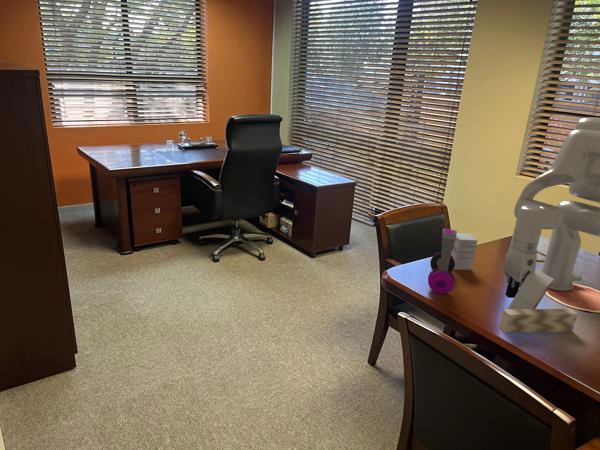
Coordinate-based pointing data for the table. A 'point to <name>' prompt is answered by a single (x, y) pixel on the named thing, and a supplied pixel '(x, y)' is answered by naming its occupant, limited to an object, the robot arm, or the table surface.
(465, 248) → the supplement box
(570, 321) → the birch board
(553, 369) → the table surface
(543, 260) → the extension cord
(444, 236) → the headphones
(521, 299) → the small box
